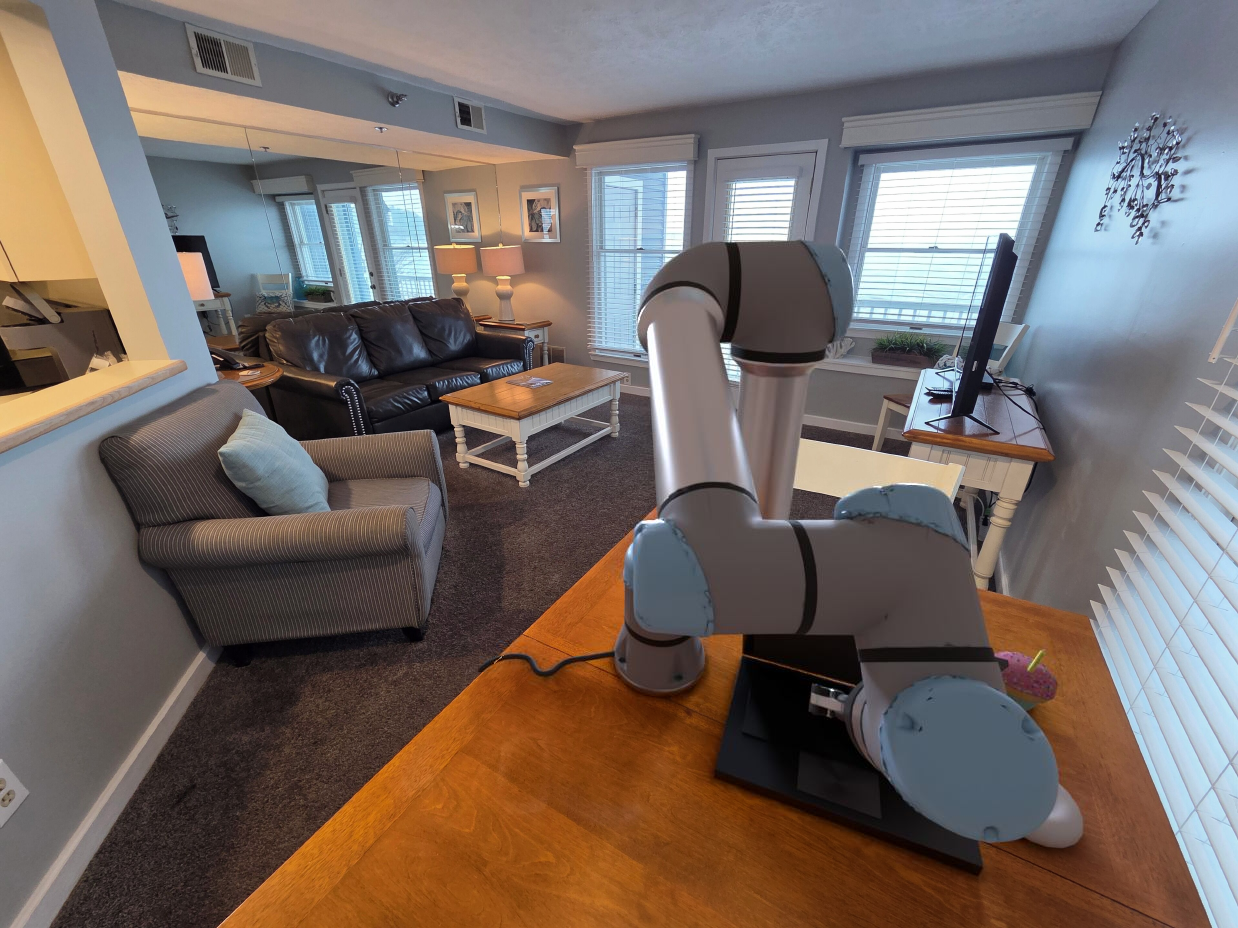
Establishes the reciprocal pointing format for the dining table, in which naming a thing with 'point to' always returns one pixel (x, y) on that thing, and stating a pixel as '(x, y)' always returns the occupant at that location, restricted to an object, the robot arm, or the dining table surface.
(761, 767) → the laptop
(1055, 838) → the donut
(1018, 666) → the cupcake
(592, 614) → the dining table surface
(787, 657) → the screen
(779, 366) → the robot arm
